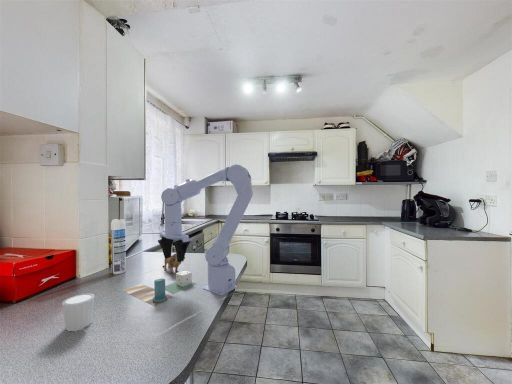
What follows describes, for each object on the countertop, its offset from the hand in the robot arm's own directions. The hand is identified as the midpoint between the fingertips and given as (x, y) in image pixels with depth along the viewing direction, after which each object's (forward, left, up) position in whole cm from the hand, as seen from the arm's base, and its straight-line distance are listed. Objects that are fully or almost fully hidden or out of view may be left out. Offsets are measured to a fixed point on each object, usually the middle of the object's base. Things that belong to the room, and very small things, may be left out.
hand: (174, 259), depth 86 cm
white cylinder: (0, +29, -10) cm, 31 cm away
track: (+2, +9, -10) cm, 14 cm away
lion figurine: (+15, -10, -10) cm, 20 cm away
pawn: (-5, +9, -10) cm, 14 cm away
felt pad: (-1, -1, -10) cm, 10 cm away
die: (-1, -3, -10) cm, 10 cm away
